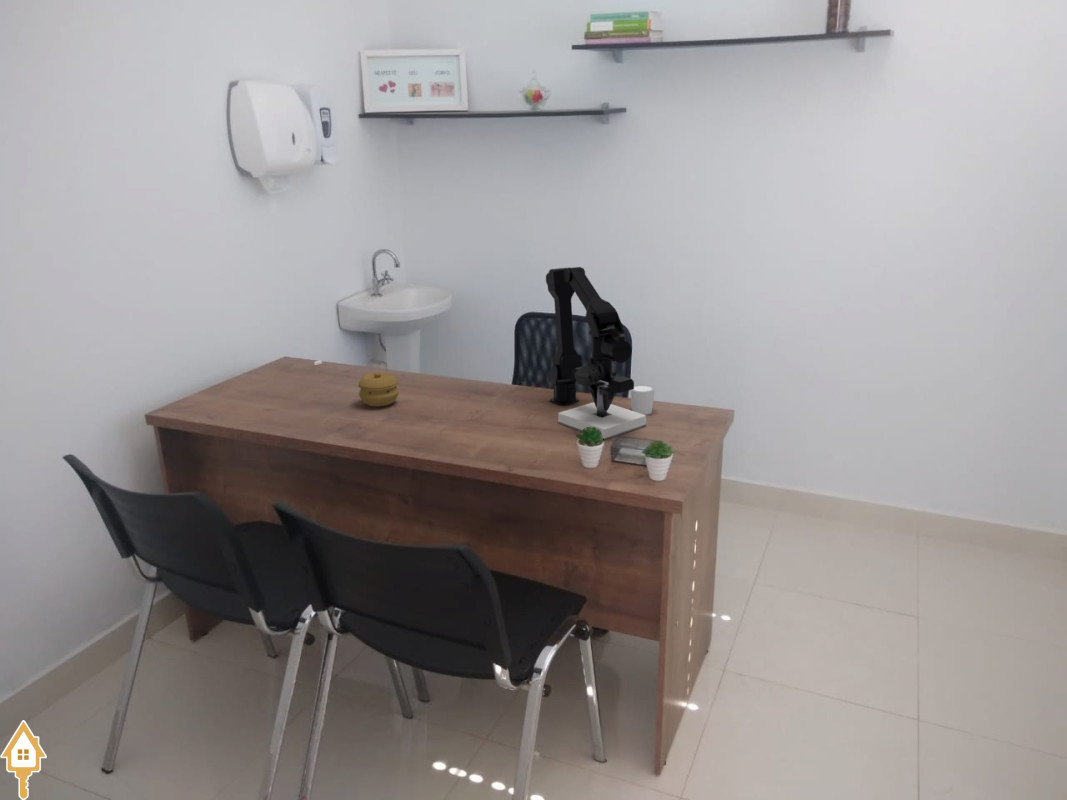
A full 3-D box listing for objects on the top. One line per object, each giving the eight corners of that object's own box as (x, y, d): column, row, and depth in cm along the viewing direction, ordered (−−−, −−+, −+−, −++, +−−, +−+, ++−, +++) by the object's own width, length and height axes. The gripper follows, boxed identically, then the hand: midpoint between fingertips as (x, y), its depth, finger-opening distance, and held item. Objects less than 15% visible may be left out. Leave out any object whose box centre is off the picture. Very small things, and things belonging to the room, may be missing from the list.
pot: (352, 408, 244) (349, 376, 241) (372, 396, 254) (369, 365, 251) (387, 412, 240) (385, 379, 237) (406, 400, 251) (404, 368, 248)
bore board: (558, 423, 228) (558, 412, 227) (599, 410, 238) (599, 400, 237) (604, 440, 215) (604, 429, 214) (646, 425, 225) (646, 415, 224)
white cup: (648, 417, 232) (648, 393, 230) (625, 413, 235) (626, 389, 233) (657, 410, 237) (658, 386, 235) (635, 406, 241) (636, 383, 239)
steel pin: (594, 417, 226) (594, 386, 223) (601, 415, 228) (602, 384, 225) (601, 420, 224) (602, 388, 221) (609, 417, 226) (609, 386, 223)
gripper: (556, 352, 222) (557, 407, 227) (605, 366, 209) (605, 424, 214) (586, 345, 229) (586, 398, 234) (636, 358, 215) (634, 414, 220)
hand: (601, 409), depth 225 cm, fingers closed on steel pin, 3 cm apart
